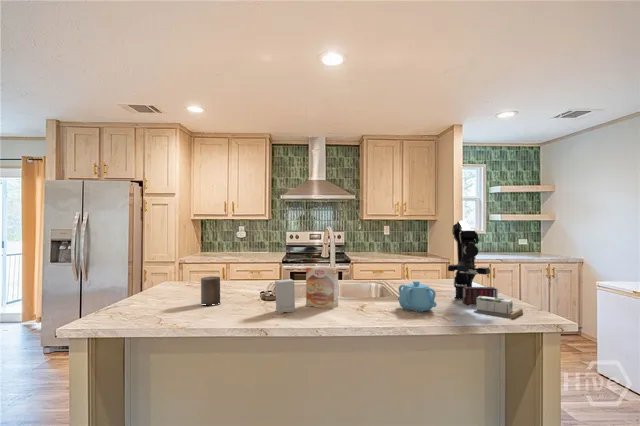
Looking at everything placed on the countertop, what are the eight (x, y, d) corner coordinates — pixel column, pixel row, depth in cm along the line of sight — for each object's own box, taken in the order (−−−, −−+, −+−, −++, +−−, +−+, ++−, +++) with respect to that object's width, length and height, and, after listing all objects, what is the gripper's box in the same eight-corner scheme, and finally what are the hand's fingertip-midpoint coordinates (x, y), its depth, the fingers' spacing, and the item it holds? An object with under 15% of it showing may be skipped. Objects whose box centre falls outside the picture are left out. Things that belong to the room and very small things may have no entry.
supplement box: (494, 287, 188) (462, 286, 190) (498, 288, 184) (465, 288, 185) (494, 303, 188) (462, 303, 190) (497, 306, 183) (465, 305, 185)
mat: (473, 312, 171) (473, 307, 171) (484, 307, 181) (484, 303, 181) (513, 318, 159) (512, 314, 159) (522, 313, 169) (522, 309, 169)
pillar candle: (224, 303, 193) (224, 274, 193) (209, 307, 185) (209, 277, 185) (211, 301, 198) (211, 273, 198) (196, 305, 190) (196, 275, 190)
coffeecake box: (305, 306, 185) (305, 267, 185) (311, 303, 192) (311, 265, 192) (333, 309, 179) (333, 268, 180) (338, 305, 186) (338, 267, 186)
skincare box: (291, 309, 179) (291, 278, 179) (295, 312, 174) (295, 280, 174) (274, 310, 176) (274, 279, 177) (277, 313, 171) (277, 281, 171)
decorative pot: (430, 306, 184) (430, 278, 184) (438, 314, 168) (437, 284, 168) (397, 305, 186) (397, 278, 186) (401, 313, 170) (401, 284, 170)
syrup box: (479, 295, 179) (512, 298, 170) (480, 307, 179) (513, 311, 170) (476, 297, 175) (509, 301, 166) (476, 310, 175) (510, 314, 166)
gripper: (442, 255, 182) (442, 286, 181) (481, 257, 168) (481, 292, 168) (452, 253, 189) (453, 283, 189) (490, 255, 176) (490, 288, 176)
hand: (468, 287), depth 180 cm, fingers closed
